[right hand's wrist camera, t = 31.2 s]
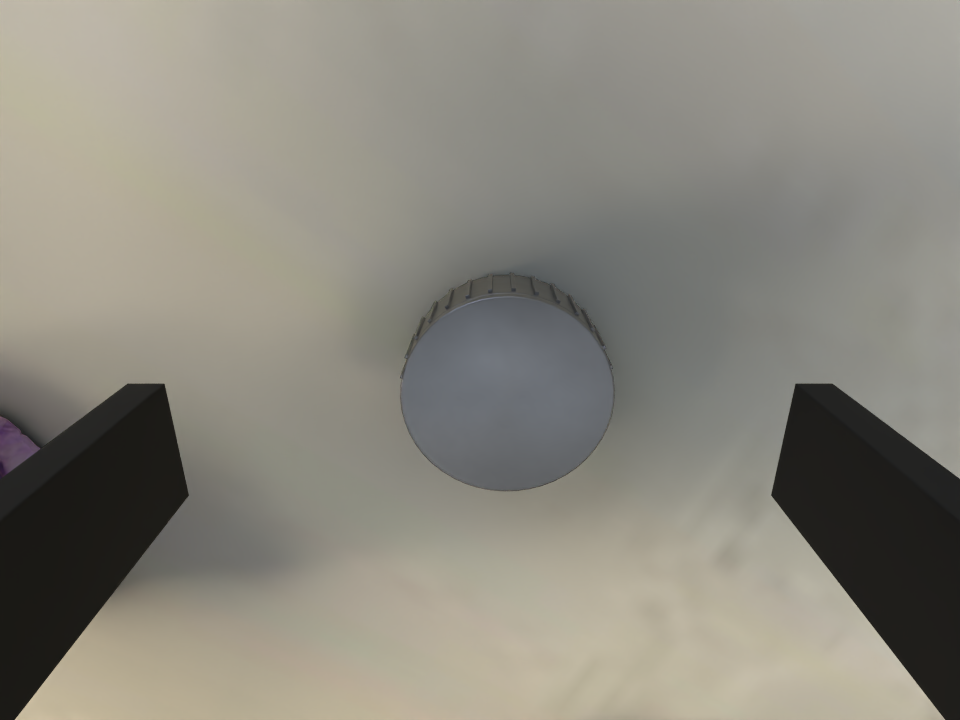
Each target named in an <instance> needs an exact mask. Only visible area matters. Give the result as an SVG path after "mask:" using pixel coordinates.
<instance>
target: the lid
mask: <svg viewBox="0 0 960 720" xmlns="http://www.w3.org/2000/svg"><path fill="white" fill-rule="evenodd" d="M605 349H606V347H605V345H604V343H603V341H602V339H601V337H600V335H599V333H598V331H597V329H596V327H595V325H594V326H593V324H592V322H591V320H590V318H589V316H588V314H587V312H586V311H585V309H582V310H581V309H580V308H579V306H578V305H577V304H576V303H575V302H574V300H573V298H572V296H571V295H570V294H569V295H568V296H567V295H565V294H564V293H563V292H561V291H560V290H558V289H557V288H556V287H555V285H554V284H552V283H551V285H549V284H547V283H544V282H542V281H539V280H536V279H535V277H534V276H531V278H528V277H524V276H515V275H514V273H510V275H496V276H493V275H492V274H489V275H488V277H484V278H480V279H477V280H474V281H472V279H470V280H468V283H466V284H464V285H462V286H460V287H458V288H456V289H455V290H453V288H452V289H450V290H449V293H448V294H447V295H446V296H445V297H443V298H442V299H441V300H440V301H439V302H437V301H435V302H434V303H433V306H432V309H431V310H430V312H429V313H428V315H427V316H426V317H422V319H421V321H420V323H419V326H418V329H417V331H416V334H414V335H413V337H412V340H411V343H410V345H409V348H408V350H407V353H406V355H405V358H406V359H407V360H406V362H405V365H404V368H403V370H402V373H401V376H400V378H401V379H402V380H401V392H400V399H401V409H402V413H403V417H404V421H405V424H406V426H407V429H408V431H409V434H410V435H411V437H412V439H413V441H414V442H415V444H416V445H417V447H418V448H419V449H420V451H421V452H422V453H423V455H424V456H425V457H426V458H427V459H428V460H429V461H430V462H431V463H432V464H434V465H435V466H436V467H437V468H439V469H440V470H441V471H442V472H444V473H446V474H447V475H449V476H451V477H452V478H454V479H456V480H459V481H461V482H463V483H465V484H468V485H471V486H474V487H478V488H483V489H488V490H496V491H519V490H526V489H531V488H535V487H539V486H543V485H545V484H548V483H551V482H553V481H555V480H557V479H559V478H561V477H563V476H565V475H567V474H568V473H570V472H571V471H573V470H574V469H575V468H577V467H578V466H579V465H580V464H581V463H583V462H584V461H585V460H586V459H587V458H588V457H589V456H590V454H591V453H592V452H593V451H594V450H595V448H596V447H597V446H598V444H599V443H600V441H601V440H602V438H603V436H604V434H605V432H606V430H607V428H608V425H609V422H610V419H611V416H612V411H613V406H614V392H615V389H614V380H613V374H612V370H611V369H613V368H612V364H611V362H610V360H609V358H608V356H607V354H606V352H605Z"/></svg>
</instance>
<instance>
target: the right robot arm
mask: <svg viewBox="0 0 960 720" xmlns="http://www.w3.org/2000/svg"><path fill="white" fill-rule="evenodd" d="M188 496H189V494H188V490H187V485H186V480H185V476H184V471H183V467H182V462H181V457H180V453H179V448H178V444H177V439H176V434H175V430H174V425H173V421H172V416H171V411H170V407H169V402H168V398H167V393H166V388H165V384H127V385H125V386H124V387H123V388H121V389H120V390H119V391H117V392H116V393H115V394H113V395H112V396H111V397H109V398H108V399H107V400H105V401H104V402H103V403H101V404H100V405H98V406H97V407H96V408H94V409H93V410H92V411H90V412H89V413H88V414H86V415H85V416H84V417H82V418H81V419H80V420H78V421H77V422H76V423H74V424H73V425H72V426H70V427H69V428H68V429H66V430H65V431H64V432H62V433H61V434H60V435H58V436H57V437H56V438H54V439H53V440H52V441H50V442H49V443H48V444H46V445H45V446H44V447H42V448H41V449H40V450H38V451H37V452H36V453H34V454H33V455H32V456H30V457H29V458H28V459H26V460H25V461H24V462H22V463H21V464H20V465H18V466H17V467H16V468H14V469H13V470H12V471H10V472H9V473H8V474H6V475H5V476H4V477H2V478H1V479H0V720H15V719H16V717H17V716H18V715H19V714H20V712H21V711H22V710H23V708H24V707H25V706H26V704H27V703H28V702H29V701H30V699H31V698H32V697H33V695H34V694H35V693H36V692H37V690H38V689H39V688H40V686H41V685H42V684H43V683H44V681H45V680H46V679H47V677H48V676H49V675H50V674H51V672H52V671H53V670H54V668H55V667H56V666H57V665H58V663H59V662H60V661H61V659H62V658H63V657H64V656H65V654H66V653H67V652H68V650H69V649H70V648H71V646H72V645H73V644H74V643H75V641H76V640H77V639H78V637H79V636H80V635H81V634H82V632H83V631H84V630H85V628H86V627H87V626H88V625H89V623H90V622H91V621H92V619H93V618H94V617H95V616H96V614H97V613H98V612H99V610H100V609H101V608H102V607H103V605H104V604H105V603H106V601H107V600H108V599H109V598H110V596H111V595H112V594H113V592H114V591H115V590H116V588H117V587H118V586H119V585H120V583H121V582H122V581H123V579H124V578H125V577H126V576H127V574H128V573H129V572H130V570H131V569H132V568H133V567H134V565H135V564H136V563H137V561H138V560H139V559H140V558H141V556H142V555H143V554H144V552H145V551H146V550H147V549H148V547H149V546H150V545H151V543H152V542H153V541H154V540H155V538H156V537H157V536H158V534H159V533H160V532H161V530H162V529H163V528H164V527H165V525H166V524H167V523H168V521H169V520H170V519H171V518H172V516H173V515H174V514H175V512H176V511H177V510H178V509H179V507H180V506H181V505H182V503H183V502H184V501H185V500H186V498H187V497H188ZM771 496H772V497H773V498H774V500H775V501H776V502H777V503H778V505H779V506H780V507H781V509H782V510H783V511H784V512H785V514H786V515H787V516H788V518H789V519H790V520H791V521H792V523H793V524H794V525H795V527H796V528H797V529H798V530H799V532H800V533H801V534H802V536H803V537H804V538H805V540H806V541H807V542H808V543H809V545H810V546H811V547H812V549H813V550H814V551H815V552H816V554H817V555H818V556H819V558H820V559H821V560H822V561H823V563H824V564H825V565H826V567H827V568H828V569H829V570H830V572H831V573H832V574H833V576H834V577H835V578H836V579H837V581H838V582H839V583H840V585H841V586H842V587H843V588H844V590H845V591H846V592H847V594H848V595H849V596H850V598H851V599H852V600H853V601H854V603H855V604H856V605H857V607H858V608H859V609H860V610H861V612H862V613H863V614H864V616H865V617H866V618H867V619H868V621H869V622H870V623H871V625H872V626H873V627H874V628H875V630H876V631H877V632H878V634H879V635H880V636H881V637H882V639H883V640H884V641H885V643H886V644H887V645H888V646H889V648H890V649H891V650H892V652H893V653H894V654H895V656H896V657H897V658H898V659H899V661H900V662H901V663H902V665H903V666H904V667H905V668H906V670H907V671H908V672H909V674H910V675H911V676H912V677H913V679H914V680H915V681H916V683H917V684H918V685H919V686H920V688H921V689H922V690H923V692H924V693H925V694H926V695H927V697H928V698H929V699H930V701H931V702H932V703H933V704H934V706H935V707H936V708H937V710H938V711H939V712H940V714H941V715H942V716H943V717H944V719H945V720H960V479H959V478H958V477H956V476H955V475H954V474H952V473H951V472H950V471H948V470H947V469H946V468H944V467H943V466H942V465H940V464H939V463H938V462H936V461H935V460H934V459H932V458H931V457H930V456H928V455H927V454H926V453H924V452H923V451H922V450H920V449H919V448H918V447H916V446H915V445H914V444H912V443H911V442H910V441H908V440H907V439H906V438H904V437H903V436H902V435H900V434H899V433H898V432H896V431H895V430H894V429H892V428H891V427H890V426H888V425H887V424H886V423H884V422H883V421H882V420H880V419H879V418H878V417H876V416H875V415H874V414H872V413H871V412H870V411H868V410H867V409H866V408H864V407H863V406H862V405H860V404H859V403H857V402H856V401H855V400H853V399H852V398H851V397H849V396H848V395H847V394H845V393H844V392H843V391H841V390H840V389H839V388H837V387H836V386H835V385H833V384H795V388H794V393H793V398H792V402H791V407H790V411H789V416H788V421H787V425H786V430H785V434H784V439H783V444H782V448H781V453H780V457H779V462H778V467H777V471H776V476H775V480H774V485H773V489H772V494H771Z"/></svg>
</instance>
